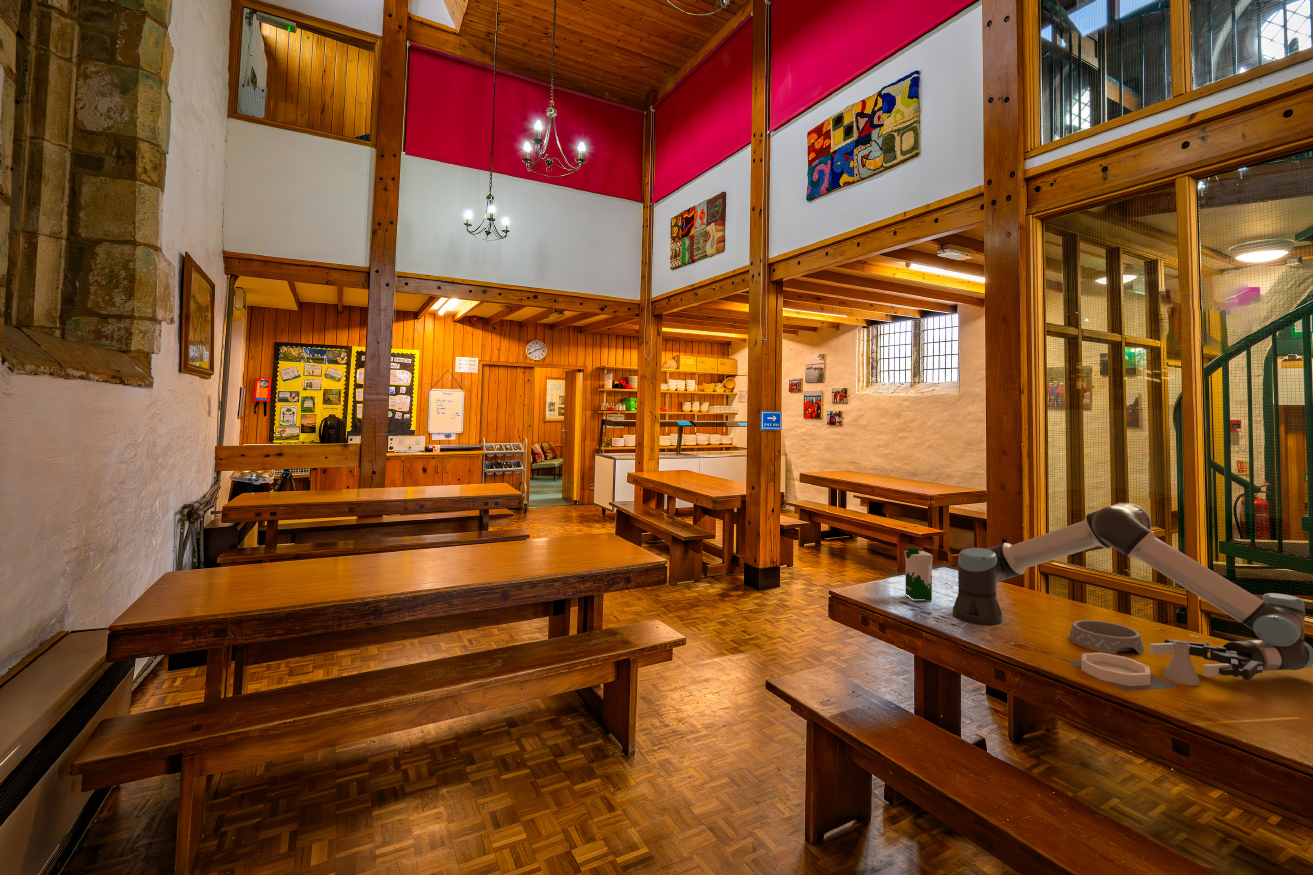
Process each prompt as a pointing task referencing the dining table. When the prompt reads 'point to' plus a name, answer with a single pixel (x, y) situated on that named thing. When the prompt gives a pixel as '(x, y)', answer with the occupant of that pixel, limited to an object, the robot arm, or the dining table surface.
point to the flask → (1181, 666)
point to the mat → (1154, 684)
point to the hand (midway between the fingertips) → (1176, 659)
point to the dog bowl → (1105, 636)
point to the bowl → (1115, 669)
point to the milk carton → (918, 573)
